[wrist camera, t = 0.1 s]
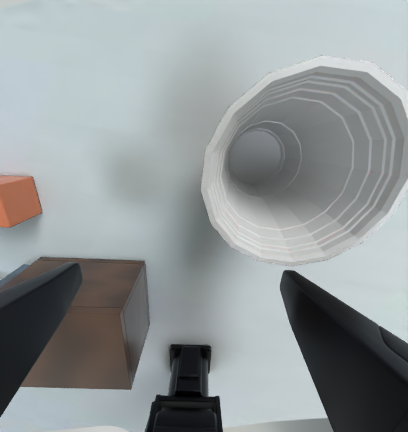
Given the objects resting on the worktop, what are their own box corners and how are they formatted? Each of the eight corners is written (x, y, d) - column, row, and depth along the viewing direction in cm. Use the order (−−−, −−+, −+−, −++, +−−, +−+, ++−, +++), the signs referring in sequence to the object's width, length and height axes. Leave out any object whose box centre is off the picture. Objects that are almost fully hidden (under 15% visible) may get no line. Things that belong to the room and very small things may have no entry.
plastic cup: (181, 165, 21) (156, 196, 10) (254, 74, 18) (332, -23, 7) (252, 225, 24) (293, 301, 13) (325, 154, 21) (464, 174, 10)
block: (42, 212, 23) (10, 227, 19) (6, 211, 23) (-34, 226, 19) (32, 176, 22) (-5, 185, 18) (-6, 175, 22) (-52, 183, 18)
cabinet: (60, 321, 30) (9, 386, 22) (40, 256, 26) (-31, 309, 18) (150, 324, 30) (131, 389, 22) (145, 260, 26) (119, 314, 18)
